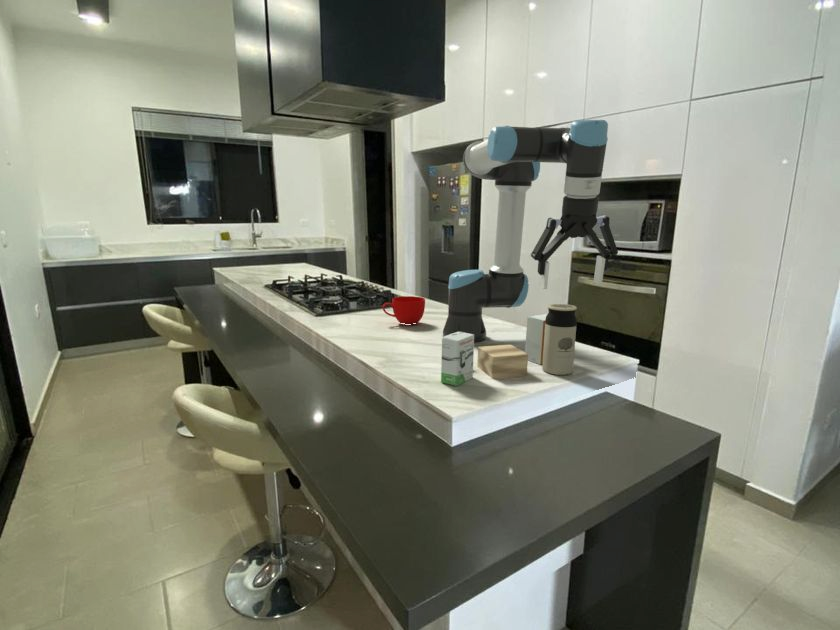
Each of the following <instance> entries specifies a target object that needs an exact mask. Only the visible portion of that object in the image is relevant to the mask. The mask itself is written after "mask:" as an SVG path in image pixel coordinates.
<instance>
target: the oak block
mask: <svg viewBox="0 0 840 630" xmlns="http://www.w3.org/2000/svg"><path fill="white" fill-rule="evenodd" d="M528 361H529V360H528V354H526V353H525V351H523V350H521V349H520V348H517V347H516V346H515V345H512V344H498V345H485V346H477V368H479V369H480V370H481V371H482V372H483V373H485V374H486V375H487V376H488V377H489V378H491V379H499V378H500V379H503V378H513V377H514V376H515V377H523V376H524V375H526V376H527V375H528V364H529V363H528Z"/></svg>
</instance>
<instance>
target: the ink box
mask: <svg viewBox="0 0 840 630" xmlns="http://www.w3.org/2000/svg"><path fill="white" fill-rule="evenodd" d="M474 346H475V342H474V334H469V333H464V332H456V333H453V334H450V335H446V336H444V337H443V336H442V338H441V366H440V367H441V370H440V372H441V373H440V374H441V375H440V383H443V384H447V385H452V386H455V387H457V386H460V385H462V384H463V383H465V382H467V381H468V380H470V379H472V378H473V377H474V375H473V374H474V357H475V356H474V352H475V351H474V350H475V349H474V348H475V347H474Z"/></svg>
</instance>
